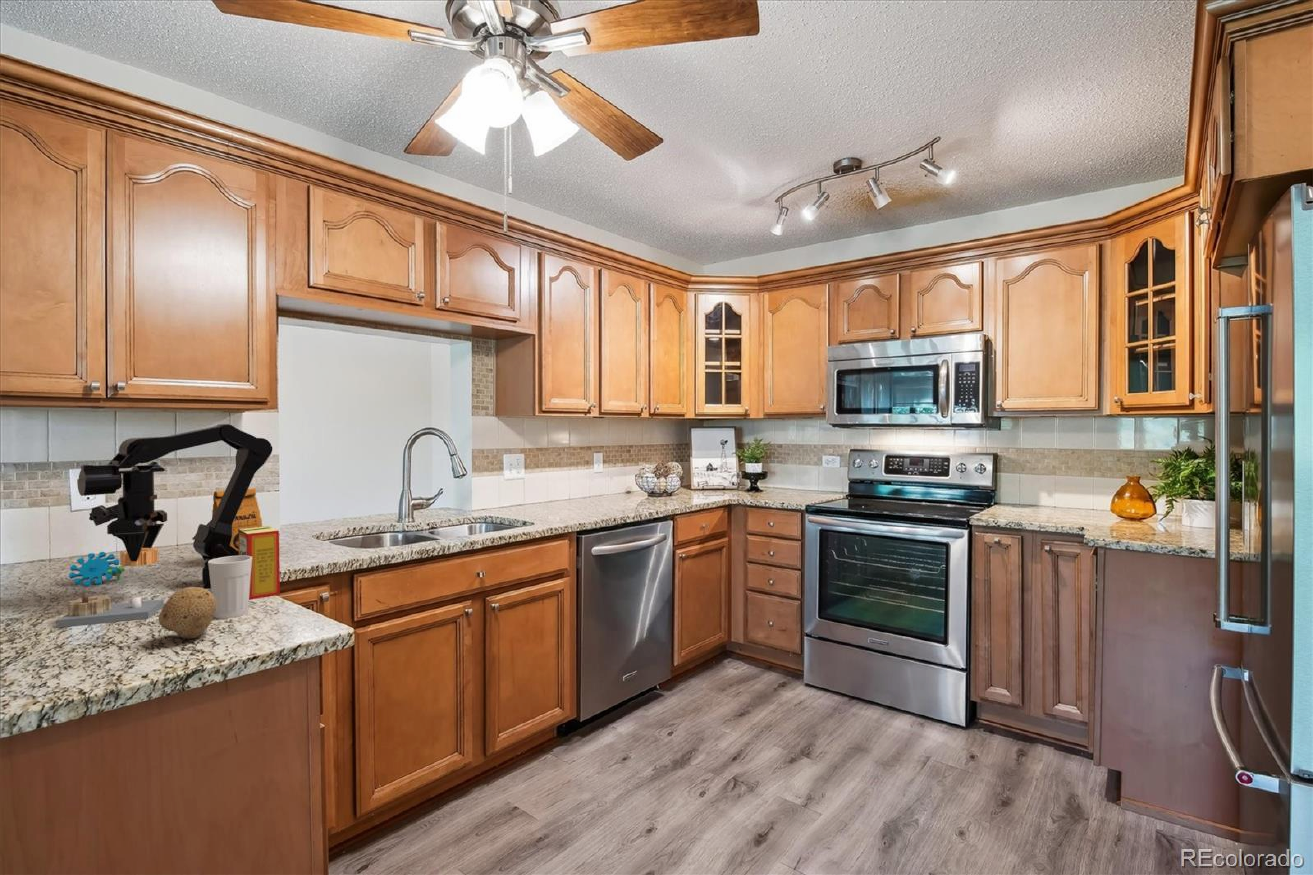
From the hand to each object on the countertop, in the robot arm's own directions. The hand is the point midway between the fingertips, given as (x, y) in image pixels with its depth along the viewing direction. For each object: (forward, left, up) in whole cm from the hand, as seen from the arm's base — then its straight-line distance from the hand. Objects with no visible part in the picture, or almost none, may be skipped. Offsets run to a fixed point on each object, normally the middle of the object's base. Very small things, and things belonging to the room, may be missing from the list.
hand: (139, 558), depth 148 cm
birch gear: (+5, +13, -8) cm, 16 cm away
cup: (-22, +21, -10) cm, 32 cm away
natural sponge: (-18, +36, -10) cm, 42 cm away
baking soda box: (-25, +4, -10) cm, 27 cm away
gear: (+16, -24, -10) cm, 30 cm away
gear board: (+1, +13, -10) cm, 16 cm away
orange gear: (0, 0, -1) cm, 1 cm away
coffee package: (-13, -35, -10) cm, 39 cm away
